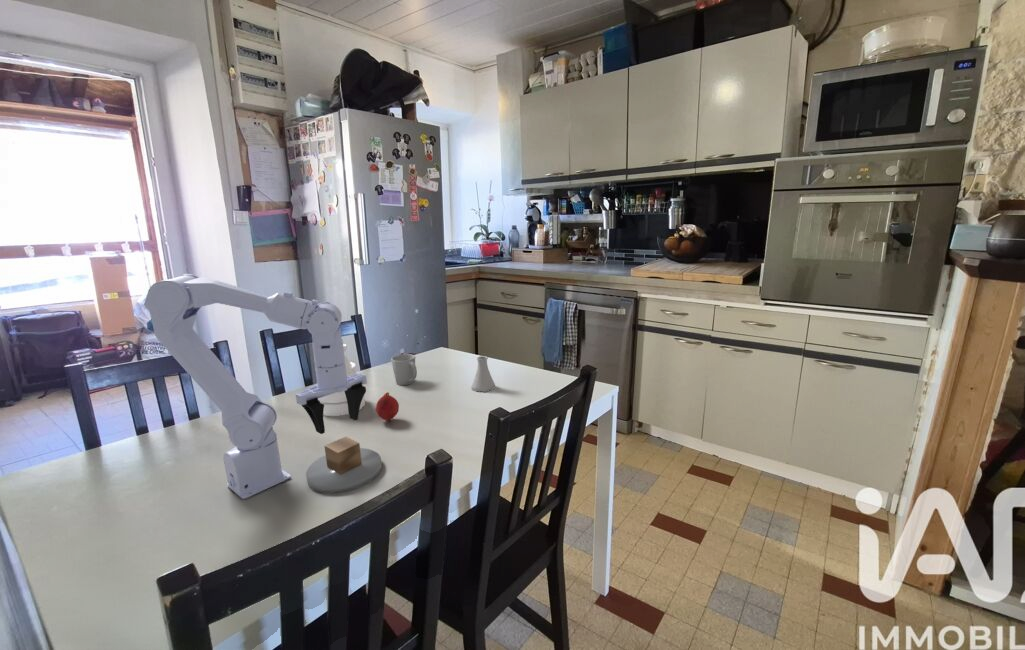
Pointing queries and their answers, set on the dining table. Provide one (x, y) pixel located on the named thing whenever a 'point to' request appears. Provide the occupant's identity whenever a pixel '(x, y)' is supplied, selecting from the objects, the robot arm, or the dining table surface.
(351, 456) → the cube
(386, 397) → the onion
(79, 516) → the dining table surface
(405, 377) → the cup
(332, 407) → the honey pot
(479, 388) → the flask
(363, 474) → the plate
